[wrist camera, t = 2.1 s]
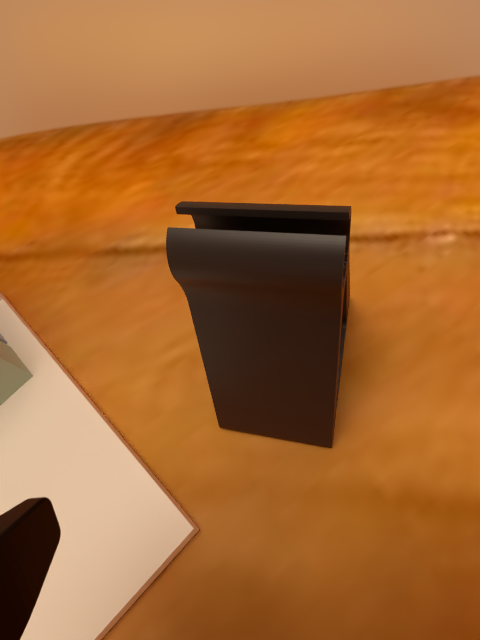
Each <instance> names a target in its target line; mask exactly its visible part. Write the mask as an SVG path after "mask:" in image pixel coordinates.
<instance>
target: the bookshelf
mask: <svg viewBox="0 0 480 640" xmlns="http://www.w3.org/2000/svg"><path fill="white" fill-rule="evenodd" d="M37 497H46V498H49V499H50V501H51V502H52V505H53V508H54V511H55V514H56V517H57V519H58V522H59V525H60V529H61V537H60V541H59V544H58V547H57V549H56V552H55V555H54V557H53V560H52V563H51V565H50V568H49V570H48V573H47V576H46V578H45V581H44V584H43V586H42V589H41V592H40V594H39V597H38V599H37V602H36V605H35V607H34V610H33V612H32V615H31V617H30V619H29V622H28V624H27V626H26V628H25V630H24V633H23V635H22V637H21V639H20V640H101V639H102V638H103V637H104V636H105V635H106V634H107V633H108V632H109V631H110V629H111V628H112V627H113V626H114V625H115V624H116V623H117V622H118V620H119V619H120V618H121V617H122V616H123V615H124V614H125V613H126V611H127V610H128V609H129V608H130V607H131V606H132V605H133V604H134V602H135V601H136V600H137V599H138V598H139V597H140V596H141V595H142V593H143V592H144V591H145V590H146V589H147V588H148V587H149V586H150V584H151V583H152V582H153V581H154V580H155V579H156V578H157V577H158V576H159V574H160V573H161V572H162V571H163V570H164V569H165V568H166V567H167V565H168V564H169V563H170V562H171V561H172V560H173V559H174V558H175V556H176V555H177V554H178V553H179V552H180V551H181V550H182V549H183V547H184V546H185V545H186V544H187V543H188V542H189V541H190V540H191V538H192V537H193V536H194V535H195V534H196V533H197V532H198V531H199V530H200V529H199V528H198V527H197V526H196V524H195V523H194V522H193V521H192V520H191V518H190V517H189V516H188V515H187V514H186V512H185V511H184V510H183V509H182V508H181V506H180V505H179V504H178V503H177V502H176V500H175V499H174V498H173V497H172V496H171V495H170V493H169V492H168V491H167V490H166V489H165V487H164V486H163V485H162V484H161V483H160V481H159V480H158V479H157V478H156V477H155V475H154V474H153V473H152V472H151V471H150V469H149V468H148V467H147V466H146V465H145V463H144V462H143V461H142V460H141V459H140V458H139V456H138V455H137V454H136V453H135V452H134V450H133V449H132V448H131V447H130V446H129V444H128V443H127V442H126V441H125V440H124V438H123V437H122V436H121V435H120V434H119V432H118V431H117V430H116V429H115V428H114V427H113V425H112V424H111V423H110V422H109V421H108V419H107V418H106V417H105V416H104V415H103V413H102V412H101V411H100V410H99V409H98V407H97V406H96V405H95V404H94V403H93V401H92V400H91V399H90V398H89V397H88V396H87V394H86V393H85V392H84V391H83V390H82V388H81V387H80V386H79V385H78V384H77V382H76V381H75V380H74V379H73V378H72V376H71V375H70V374H69V373H68V372H67V370H66V369H65V368H64V367H63V366H62V365H61V363H60V362H59V361H58V360H57V359H56V357H55V356H54V355H53V354H52V353H51V351H50V350H49V349H48V348H47V347H46V345H45V344H44V343H43V342H42V341H41V339H40V338H39V337H38V336H37V335H36V334H35V332H34V331H33V330H32V329H31V328H30V326H29V325H28V324H27V323H26V322H25V320H24V319H23V318H22V317H21V316H20V314H19V313H18V312H17V311H16V310H15V308H14V307H13V306H12V305H11V304H10V302H9V301H8V300H7V299H6V298H5V297H4V295H3V294H1V293H0V515H2V514H3V513H5V512H7V511H8V510H10V509H12V508H13V507H15V506H16V505H18V504H20V503H21V502H23V501H25V500H26V499H29V498H37Z"/></svg>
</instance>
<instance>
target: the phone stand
mask: <svg viewBox="0 0 480 640" xmlns="http://www.w3.org/2000/svg"><path fill="white" fill-rule="evenodd" d="M175 208H176V212H177V214H188V215H191V216H192V218H193V220H194V223H195V228H196V229H189V228H168V229H167V238H166V249H167V259H168V264H169V268H170V271H171V273H172V275H173V277H174V278H175V280H176V281H177V282H178V283H179V284H180V285H181V287H182V289H183V290H184V292H185V295H186V297H187V300H188V303H189V307H190V311H191V315H192V319H193V323H194V327H195V331H196V335H197V339H198V343H199V347H200V351H201V355H202V359H203V363H204V367H205V371H206V375H207V379H208V383H209V387H210V391H211V395H212V399H213V403H214V407H215V411H216V415H217V419H218V423H219V427H220V428H225V429H230V430H236V431H241V432H247V433H253V434H258V435H264V436H269V437H275V438H280V439H286V440H292V441H297V442H303V443H308V444H314V445H319V446H325V447H330V448H332V442H333V434H334V426H335V417H336V409H337V400H338V392H339V383H340V375H341V366H342V358H343V349H344V341H345V332H346V324H347V316H348V307H349V298H350V270H349V242H350V225H351V206H324V205H289V204H254V203H219V202H180V203H178V204H177V205H176V207H175Z"/></svg>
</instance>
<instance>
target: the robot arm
mask: <svg viewBox="0 0 480 640" xmlns="http://www.w3.org/2000/svg"><path fill="white" fill-rule="evenodd" d="M60 537H61V529H60V525H59V522H58V519H57V517H56V514H55V511H54V508H53V505H52V502H51V501H50V499H49V498H46V497H37V498H29V499H26V500H25V501H23V502H21V503H20V504H18V505H16V506H15V507H13V508H12V509H10V510H8V511H7V512H5V513H3V514H2V515H0V640H20V639H21V637H22V635H23V633H24V630H25V628H26V626H27V624H28V622H29V619H30V617H31V615H32V612H33V610H34V607H35V605H36V602H37V599H38V597H39V594H40V592H41V589H42V586H43V584H44V581H45V578H46V576H47V573H48V570H49V568H50V565H51V563H52V560H53V557H54V555H55V552H56V549H57V547H58V544H59V541H60Z"/></svg>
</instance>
